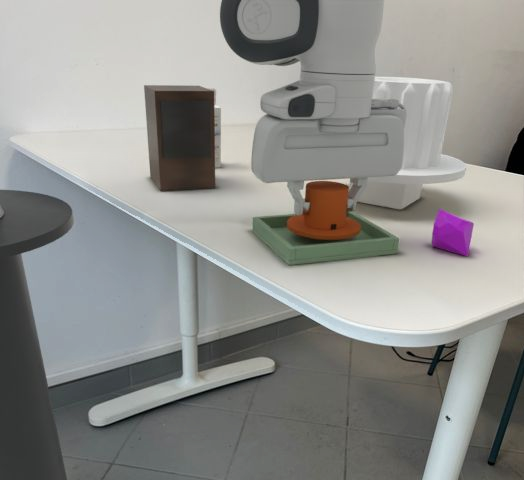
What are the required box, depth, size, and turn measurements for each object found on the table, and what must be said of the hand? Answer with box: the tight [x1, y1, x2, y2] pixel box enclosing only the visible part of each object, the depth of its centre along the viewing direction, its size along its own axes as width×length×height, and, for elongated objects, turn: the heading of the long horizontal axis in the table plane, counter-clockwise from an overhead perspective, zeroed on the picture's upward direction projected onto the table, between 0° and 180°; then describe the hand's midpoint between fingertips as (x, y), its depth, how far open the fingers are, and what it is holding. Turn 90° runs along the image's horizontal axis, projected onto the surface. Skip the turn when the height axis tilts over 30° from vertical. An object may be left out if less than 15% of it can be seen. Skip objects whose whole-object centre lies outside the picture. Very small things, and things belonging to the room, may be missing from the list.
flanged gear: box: [348, 76, 467, 210], centre depth 90 cm, size 25×25×19 cm
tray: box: [251, 211, 400, 266], centre depth 73 cm, size 16×14×2 cm
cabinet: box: [143, 84, 216, 192], centre depth 96 cm, size 10×10×16 cm
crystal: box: [431, 208, 474, 257], centre depth 72 cm, size 5×5×5 cm
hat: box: [287, 180, 361, 240], centre depth 72 cm, size 10×10×6 cm
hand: (324, 212), depth 72 cm, fingers closed on hat, 5 cm apart
